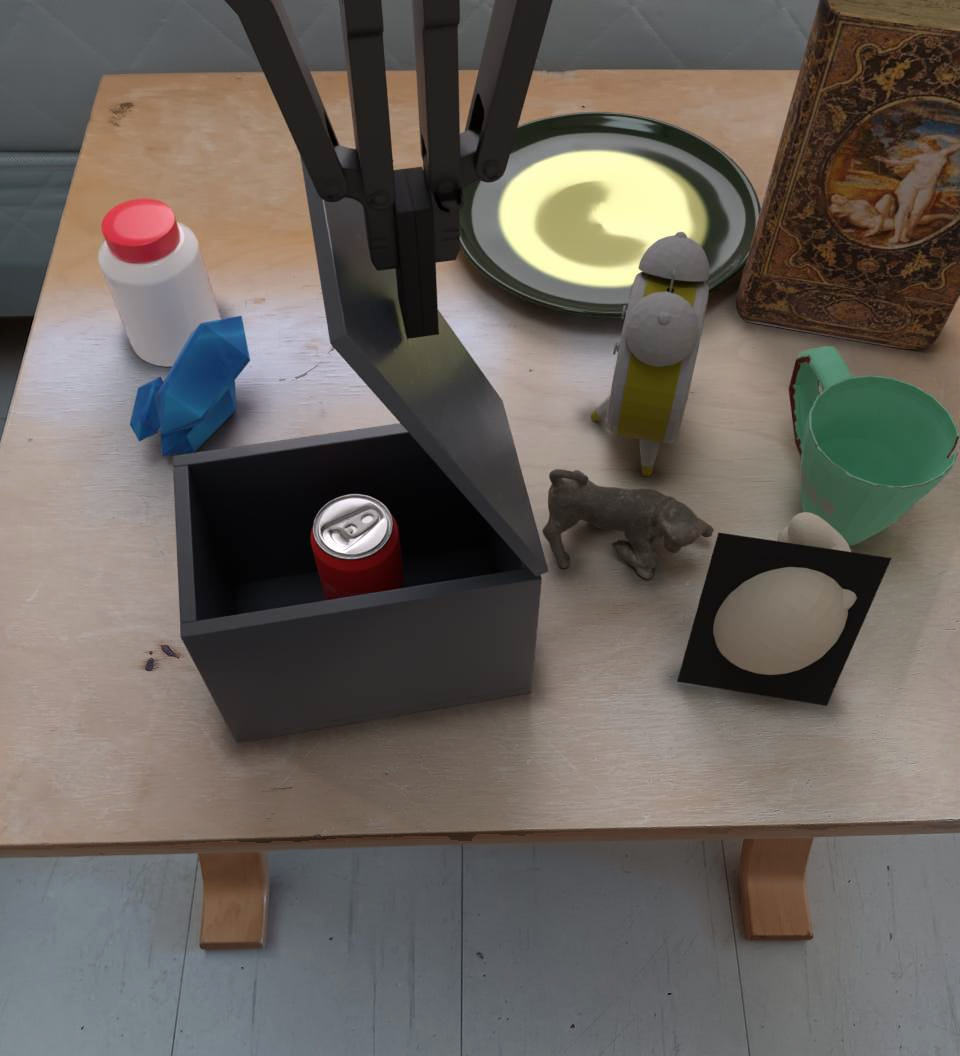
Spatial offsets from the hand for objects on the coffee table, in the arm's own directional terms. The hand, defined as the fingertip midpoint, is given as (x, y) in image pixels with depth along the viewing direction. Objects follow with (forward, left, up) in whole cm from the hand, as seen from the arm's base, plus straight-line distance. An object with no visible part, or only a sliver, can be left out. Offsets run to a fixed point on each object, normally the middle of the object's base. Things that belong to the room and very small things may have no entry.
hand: (418, 315), depth 45 cm
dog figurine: (+12, +9, -28) cm, 32 cm away
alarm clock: (+11, +21, -28) cm, 37 cm away
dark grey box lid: (0, 0, -4) cm, 4 cm away
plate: (+5, +44, -28) cm, 52 cm away
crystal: (-22, +14, -28) cm, 39 cm away
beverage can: (-4, -2, -27) cm, 27 cm away
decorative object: (+22, +3, -28) cm, 35 cm away
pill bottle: (-28, +23, -28) cm, 46 cm away
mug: (+26, +17, -28) cm, 42 cm away
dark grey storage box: (-4, -2, -28) cm, 28 cm away
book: (+26, +37, -28) cm, 53 cm away
